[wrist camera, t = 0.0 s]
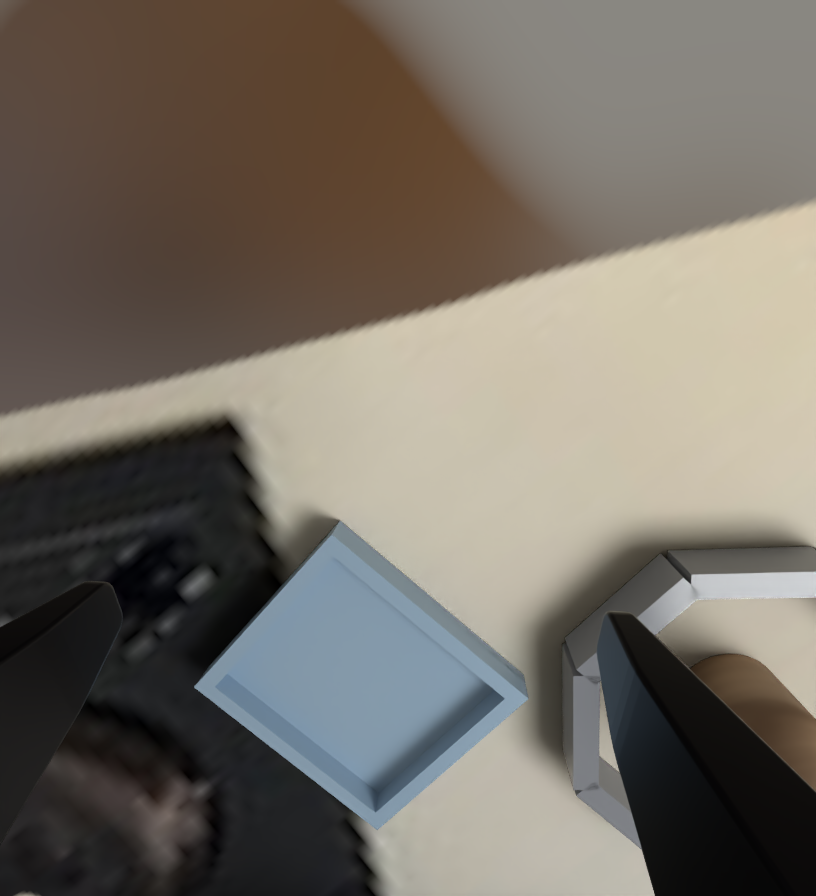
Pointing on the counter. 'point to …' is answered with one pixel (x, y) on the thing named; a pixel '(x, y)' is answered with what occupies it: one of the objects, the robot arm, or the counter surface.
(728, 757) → the robot arm
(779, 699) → the walnut cylinder
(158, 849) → the counter surface
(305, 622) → the tray
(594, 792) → the holder ring
